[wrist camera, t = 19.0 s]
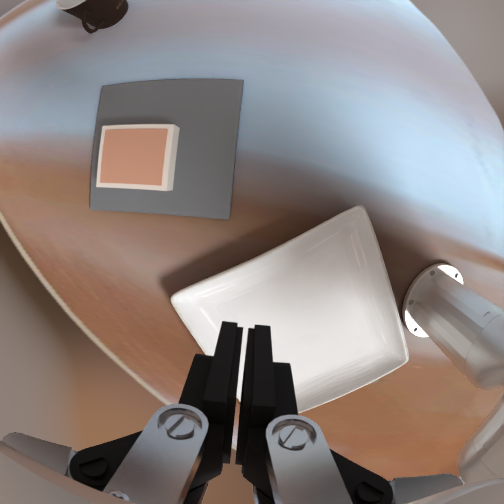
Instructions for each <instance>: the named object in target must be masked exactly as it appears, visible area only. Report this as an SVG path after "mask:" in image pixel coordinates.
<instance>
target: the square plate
mask: <svg viewBox="0 0 504 504" xmlns="http://www.w3.org/2000/svg"><path fill="white" fill-rule="evenodd" d="M171 303H172V305H173V307H174V308H175V310H176V311H177V313H178V315H179V316H180V318H181V320H182V321H183V322H184V324H185V325H186V327H187V328H188V330H189V331H190V333H191V334H192V336H193V337H194V339H195V340H196V342H197V343H198V344H199V346H200V347H201V349H202V350H203V352H204V353H205V354H206V355H210V356H214V352H215V348H216V344H217V340H218V336H219V332H220V328H221V324H222V321H227V322H236V323H238V326H237V327H243V336H242V346H241V356H240V366H239V376H238V386H237V396H236V397H237V399H238V400H239V401H240V402H241V390H242V380H243V371H244V362H245V353H246V344H247V335H248V328H254V326H255V324H256V325H267V326H270V327H271V340H272V354H273V362H284V363H290V365H291V370H292V376H293V383H294V389H295V396H296V403H297V409H298V413H301V412H304V411H306V410H309V409H312V408H314V407H317V406H319V405H322V404H324V403H327V402H329V401H332V400H334V399H336V398H339V397H341V396H343V395H346V394H348V393H350V392H352V391H354V390H357V389H359V388H361V387H363V386H365V385H367V384H369V383H371V382H373V381H375V380H377V379H379V378H381V377H383V376H385V375H386V374H388V373H390V372H392V371H394V370H395V369H397V368H399V367H400V366H402V365H404V364H405V363H407V361H408V360H409V354H408V349H407V344H406V340H405V336H404V332H403V328H402V324H401V320H400V316H399V313H398V309H397V305H396V302H395V298H394V294H393V291H392V287H391V284H390V280H389V277H388V273H387V270H386V266H385V263H384V260H383V257H382V253H381V250H380V247H379V244H378V241H377V238H376V235H375V232H374V229H373V226H372V224H371V221H370V219H369V216H368V214H367V211H366V209H365V208H364V207H363V206H362V205H359V206H356V207H353V208H351V209H349V210H347V211H344V212H342V213H340V214H338V215H337V216H335V217H333V218H331V219H329V220H327V221H325V222H323V223H321V224H320V225H318V226H316V227H314V228H312V229H310V230H309V231H307V232H305V233H303V234H301V235H299V236H297V237H295V238H293V239H291V240H289V241H287V242H286V243H284V244H282V245H280V246H278V247H276V248H274V249H272V250H269V251H267V252H265V253H263V254H261V255H259V256H257V257H255V258H253V259H251V260H248V261H246V262H244V263H241V264H239V265H237V266H235V267H232V268H230V269H228V270H225V271H223V272H221V273H218V274H216V275H214V276H211V277H209V278H207V279H204V280H202V281H199V282H197V283H195V284H192V285H190V286H188V287H186V288H184V289H181V290H179V291H178V292H176V293H175V294H173V295H172V296H171Z"/></svg>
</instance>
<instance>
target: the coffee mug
mask: <svg viewBox="0 0 504 504" xmlns="http://www.w3.org/2000/svg"><path fill="white" fill-rule="evenodd" d="M57 7H58V8H59V9H61V10H63V11H65V12H67V13H69V14H72V15H74V16H76V17H78V18H80V19H81V20H82V24H83V27H84V29H85V30H86V31H87V32H88V33H94V32H96V31H97V30H98V29H104V28H108V27H111V26H112V25H114V24H116V23H117V22H118V21H120V20H121V19H122V18H123V17H124V15H125V14H126V12H127V10H128V3H127V1H126V0H57ZM86 22H87V23H89V24H91V25H93V26H95V27H96V28H95V29H94V30H92V29H90V28H89V27H88V25H87V23H86Z"/></svg>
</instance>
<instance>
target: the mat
mask: <svg viewBox="0 0 504 504" xmlns="http://www.w3.org/2000/svg"><path fill="white" fill-rule="evenodd" d="M243 82H244V81H243V80H232V79H169V80H153V81H141V82H131V83H122V84H115V85H108V86H102V91H101V97H100V103H99V109H98V115H97V122H96V129H95V138H94V147H93V158H92V172H91V193H90V210H103V211H121V212H137V213H152V214H166V215H180V216H192V217H204V218H216V219H227V220H229V219H230V209H231V198H232V187H233V176H234V165H235V155H236V145H237V136H238V126H239V117H240V108H241V99H242V91H243ZM134 124H175V125H176V126H178V127H179V128H180V130H179V138H178V145H177V154H176V162H175V172H174V182H173V190H170V191H159V190H144V189H127V188H106V187H96V182H97V169H98V158H99V149H100V140H101V133H102V126H110V125H134Z"/></svg>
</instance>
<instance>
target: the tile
mask: <svg viewBox="0 0 504 504" xmlns="http://www.w3.org/2000/svg"><path fill="white" fill-rule="evenodd" d="M179 130H180V128H179V127H178V126H176V125H175V124H134V125H110V126H102V133H101V140H100V149H99V158H98V169H97V182H96V187H106V188H127V189H144V190H159V191H170V190H173V182H174V172H175V162H176V154H177V145H178V138H179Z"/></svg>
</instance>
